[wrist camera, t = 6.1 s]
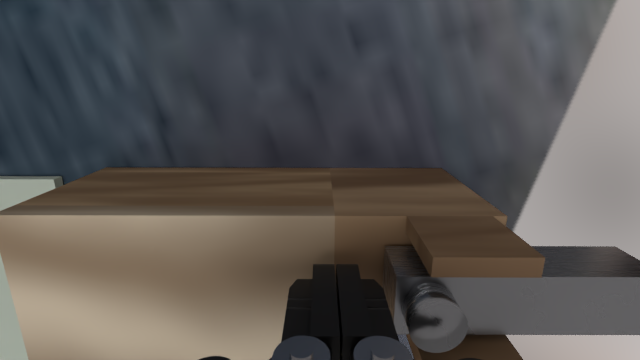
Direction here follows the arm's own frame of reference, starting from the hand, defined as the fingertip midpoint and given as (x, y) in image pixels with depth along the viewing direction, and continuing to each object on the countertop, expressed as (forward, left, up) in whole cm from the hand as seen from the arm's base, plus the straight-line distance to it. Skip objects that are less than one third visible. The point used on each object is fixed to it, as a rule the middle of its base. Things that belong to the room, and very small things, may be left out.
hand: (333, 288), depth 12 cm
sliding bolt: (0, +6, -1) cm, 6 cm away
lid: (+6, -6, -3) cm, 9 cm away
